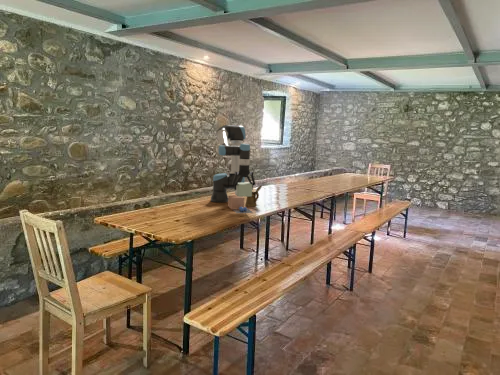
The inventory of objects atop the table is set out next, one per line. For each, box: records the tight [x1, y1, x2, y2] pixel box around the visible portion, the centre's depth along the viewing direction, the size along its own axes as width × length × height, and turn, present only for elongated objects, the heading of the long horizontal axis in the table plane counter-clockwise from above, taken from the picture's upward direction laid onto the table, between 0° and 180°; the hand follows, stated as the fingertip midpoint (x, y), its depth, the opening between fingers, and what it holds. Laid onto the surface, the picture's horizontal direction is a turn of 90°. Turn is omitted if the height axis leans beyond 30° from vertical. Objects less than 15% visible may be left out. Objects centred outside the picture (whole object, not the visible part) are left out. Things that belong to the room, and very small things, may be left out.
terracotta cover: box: [227, 195, 245, 210], centre depth 295 cm, size 10×10×9 cm
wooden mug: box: [244, 185, 262, 207], centre depth 304 cm, size 9×14×18 cm, turn 61°
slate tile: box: [231, 208, 254, 214], centre depth 283 cm, size 13×13×1 cm
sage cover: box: [234, 182, 253, 198], centre depth 281 cm, size 10×10×9 cm
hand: (243, 194), depth 281 cm, fingers closed on sage cover, 10 cm apart
